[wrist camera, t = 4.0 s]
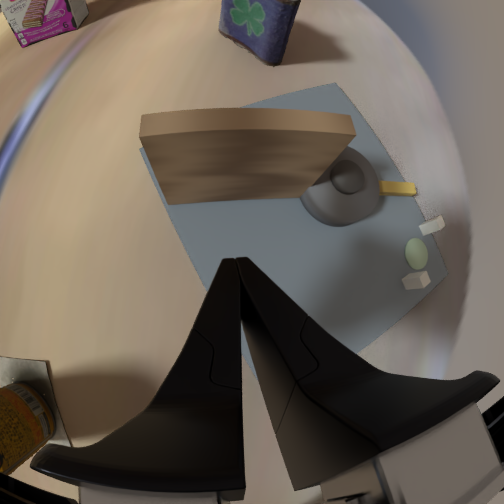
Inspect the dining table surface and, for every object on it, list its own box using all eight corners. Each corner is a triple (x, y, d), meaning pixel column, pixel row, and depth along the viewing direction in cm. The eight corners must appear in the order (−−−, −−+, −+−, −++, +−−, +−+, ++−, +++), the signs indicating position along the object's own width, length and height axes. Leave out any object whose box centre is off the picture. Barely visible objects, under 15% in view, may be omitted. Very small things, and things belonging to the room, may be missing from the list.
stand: (443, 274, 23) (465, 270, 20) (271, 402, 19) (282, 419, 16) (332, 87, 24) (344, 68, 21) (141, 153, 20) (132, 132, 17)
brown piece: (400, 162, 23) (461, 116, 14) (415, 223, 22) (489, 192, 13) (168, 160, 19) (146, 78, 11) (168, 238, 19) (135, 189, 10)
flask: (213, 30, 24) (221, -44, 13) (233, 23, 25) (245, -47, 14) (269, 70, 24) (295, -14, 13) (289, 61, 24) (318, -16, 14)
